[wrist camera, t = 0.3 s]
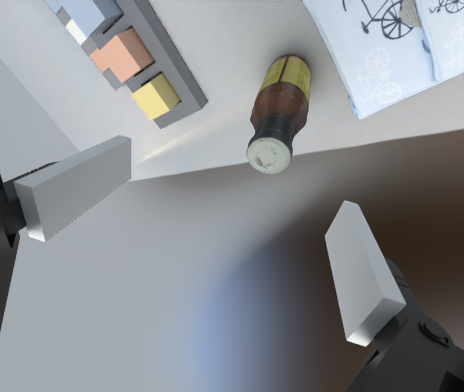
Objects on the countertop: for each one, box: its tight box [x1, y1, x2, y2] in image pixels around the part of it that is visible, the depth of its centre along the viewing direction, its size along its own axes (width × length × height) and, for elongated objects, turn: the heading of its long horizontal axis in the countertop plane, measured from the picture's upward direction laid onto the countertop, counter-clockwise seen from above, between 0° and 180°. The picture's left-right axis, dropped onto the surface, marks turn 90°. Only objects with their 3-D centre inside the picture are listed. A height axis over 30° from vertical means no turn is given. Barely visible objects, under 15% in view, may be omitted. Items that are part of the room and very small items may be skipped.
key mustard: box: [131, 73, 181, 121], centre depth 38 cm, size 5×5×4 cm
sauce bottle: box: [247, 55, 311, 174], centre depth 28 cm, size 7×6×20 cm
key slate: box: [58, 0, 123, 38], centre depth 32 cm, size 5×5×4 cm
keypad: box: [44, 0, 208, 129], centre depth 35 cm, size 14×36×3 cm, turn 31°
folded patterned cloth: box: [302, 0, 464, 120], centre depth 26 cm, size 19×20×2 cm
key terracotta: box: [98, 28, 154, 83], centre depth 35 cm, size 5×5×4 cm
